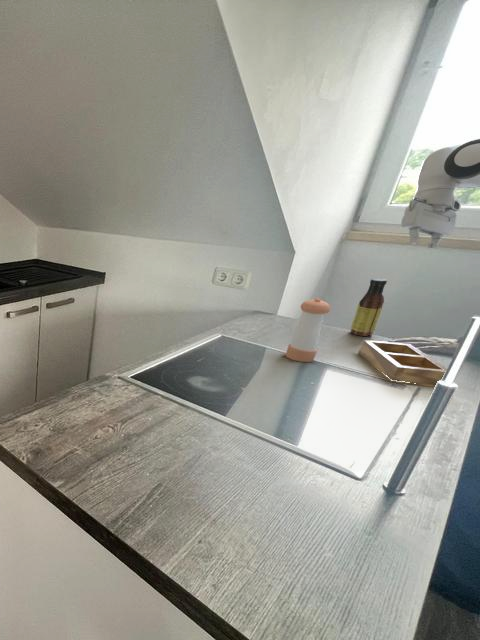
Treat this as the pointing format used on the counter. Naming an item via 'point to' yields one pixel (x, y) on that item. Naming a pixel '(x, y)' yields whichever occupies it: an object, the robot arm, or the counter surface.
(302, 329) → the pepper shaker
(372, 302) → the sauce bottle
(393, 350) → the wooden compartment tray
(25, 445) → the counter surface
